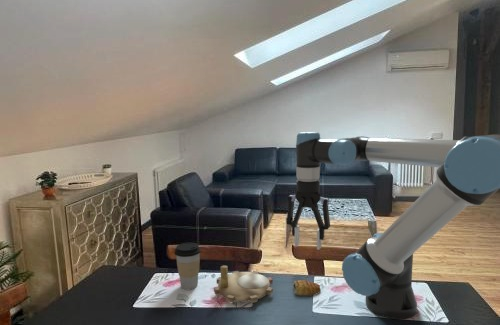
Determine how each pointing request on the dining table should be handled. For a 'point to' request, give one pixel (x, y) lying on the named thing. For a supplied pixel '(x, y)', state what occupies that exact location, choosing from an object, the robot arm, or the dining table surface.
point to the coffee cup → (188, 264)
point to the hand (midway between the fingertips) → (307, 246)
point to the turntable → (243, 285)
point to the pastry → (306, 288)
